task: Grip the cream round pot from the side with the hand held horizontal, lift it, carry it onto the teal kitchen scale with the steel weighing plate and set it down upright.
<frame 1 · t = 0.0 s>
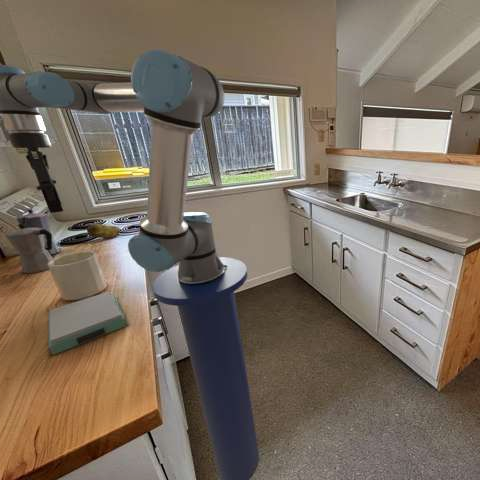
hand: (56, 208, 78), 27 cm above the countertop, tool pointing down, fingers open, 13 cm apart
coffeepot: (43, 268, 100), on the countertop
kitchen scale: (88, 322, 68), on the countertop
potato: (106, 238, 133), on the countertop
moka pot: (47, 254, 113), on the countertop
cream round pot: (85, 291, 83), on the countertop
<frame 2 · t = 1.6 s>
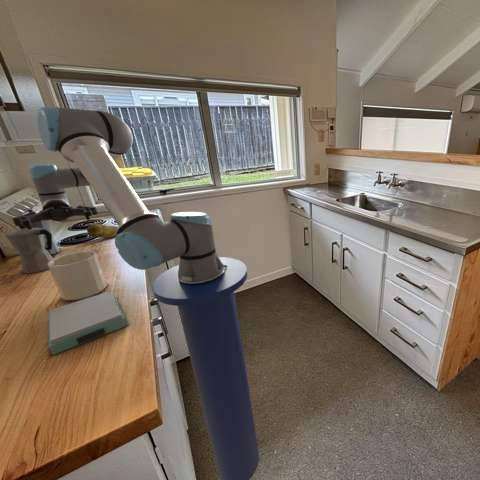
hand: (59, 220, 81), 22 cm above the countertop, tool horizontal, fingers open, 13 cm apart
nothing on the countertop moved.
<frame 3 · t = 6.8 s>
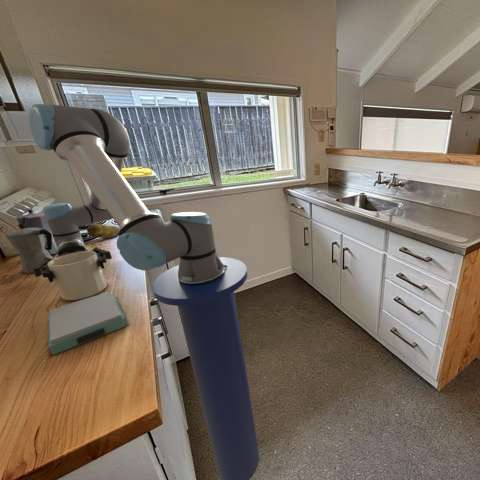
hand: (77, 271, 77), 9 cm above the countertop, tool horizontal, fingers closed on cream round pot, 11 cm apart
cream round pot: (85, 291, 83), on the countertop, touching gripper
everything else where it was.
when the fingers open (12 cm above the countertop, at t = 16.0 s): cream round pot stays where it is, resting on kitchen scale.
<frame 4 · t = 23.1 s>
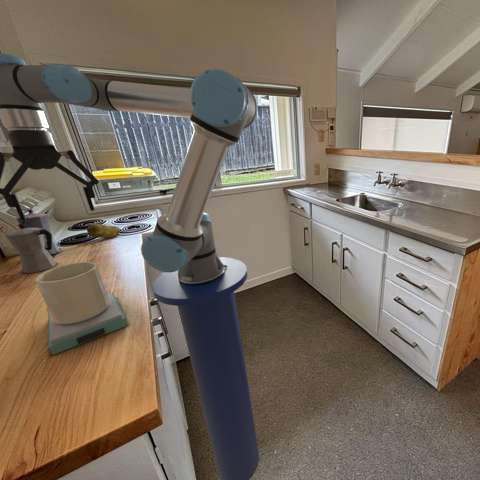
hand: (60, 214, 70), 27 cm above the countertop, tool pointing down, fingers open, 13 cm apart
cream round pot: (84, 312, 67), point 3 cm above the countertop, touching kitchen scale
everything else where it was.
at the end: cream round pot inside the target area (0.1 cm from its centre), point 3.3 cm above the countertop; cream round pot tilted 0°; the gripper is holding nothing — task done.
